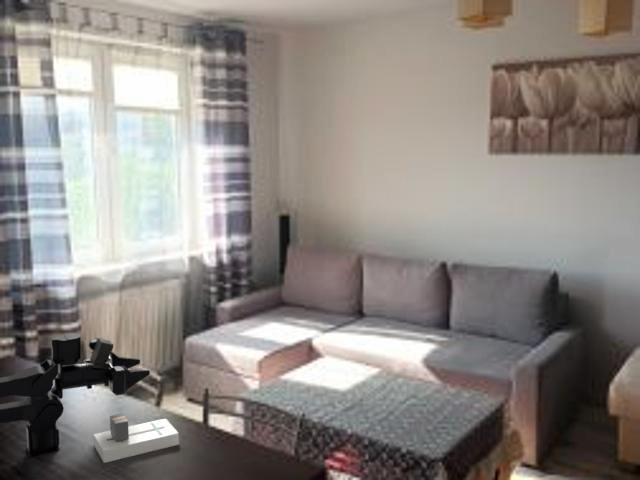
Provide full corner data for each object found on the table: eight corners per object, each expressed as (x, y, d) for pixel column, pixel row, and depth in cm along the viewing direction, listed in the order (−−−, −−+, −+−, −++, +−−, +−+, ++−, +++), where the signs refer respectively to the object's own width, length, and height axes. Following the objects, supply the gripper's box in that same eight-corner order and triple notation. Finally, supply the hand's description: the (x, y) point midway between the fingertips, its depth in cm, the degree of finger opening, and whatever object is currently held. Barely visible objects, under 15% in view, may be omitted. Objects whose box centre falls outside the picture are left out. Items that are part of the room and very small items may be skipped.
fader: (115, 441, 151) (114, 423, 151) (110, 433, 156) (109, 415, 155) (128, 438, 153) (128, 420, 152) (123, 430, 157) (122, 413, 157)
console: (103, 462, 148) (103, 450, 147) (94, 445, 156) (93, 433, 156) (178, 444, 157) (178, 432, 157) (165, 429, 166) (165, 417, 165)
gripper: (88, 354, 148) (155, 347, 156) (74, 333, 164) (135, 327, 172) (89, 400, 150) (154, 390, 158) (74, 374, 166) (135, 366, 174)
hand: (144, 366), depth 165 cm, fingers open, 9 cm apart
